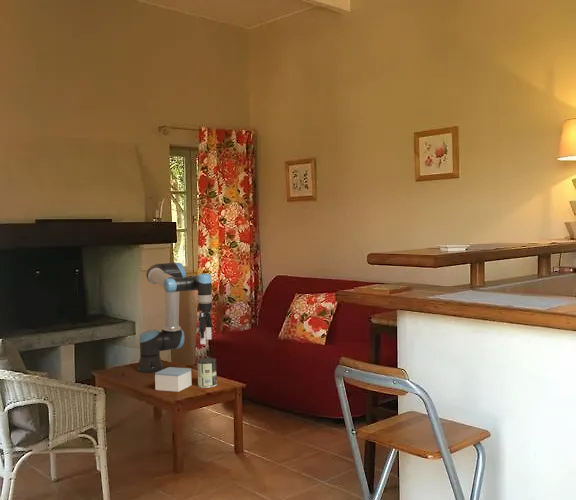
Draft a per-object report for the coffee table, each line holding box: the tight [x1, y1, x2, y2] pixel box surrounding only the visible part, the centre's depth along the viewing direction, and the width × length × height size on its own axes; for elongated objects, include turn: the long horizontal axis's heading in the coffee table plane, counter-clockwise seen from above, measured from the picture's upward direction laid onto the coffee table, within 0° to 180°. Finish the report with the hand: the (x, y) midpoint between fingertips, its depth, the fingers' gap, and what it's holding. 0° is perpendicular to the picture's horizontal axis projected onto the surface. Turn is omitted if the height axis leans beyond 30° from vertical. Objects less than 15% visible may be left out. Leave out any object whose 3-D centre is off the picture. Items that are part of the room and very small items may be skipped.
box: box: [154, 370, 192, 392], centre depth 349 cm, size 14×14×8 cm
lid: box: [154, 366, 192, 376], centre depth 349 cm, size 14×14×1 cm
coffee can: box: [196, 357, 218, 389], centre depth 352 cm, size 10×10×14 cm
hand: (206, 341), depth 351 cm, fingers open, 13 cm apart
